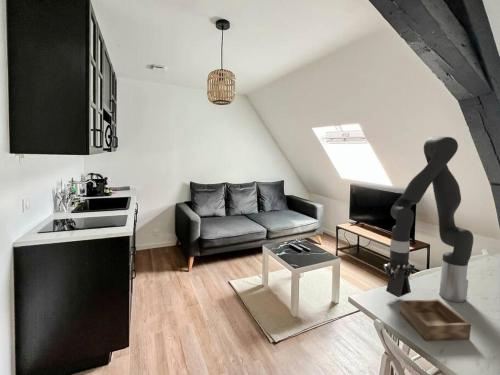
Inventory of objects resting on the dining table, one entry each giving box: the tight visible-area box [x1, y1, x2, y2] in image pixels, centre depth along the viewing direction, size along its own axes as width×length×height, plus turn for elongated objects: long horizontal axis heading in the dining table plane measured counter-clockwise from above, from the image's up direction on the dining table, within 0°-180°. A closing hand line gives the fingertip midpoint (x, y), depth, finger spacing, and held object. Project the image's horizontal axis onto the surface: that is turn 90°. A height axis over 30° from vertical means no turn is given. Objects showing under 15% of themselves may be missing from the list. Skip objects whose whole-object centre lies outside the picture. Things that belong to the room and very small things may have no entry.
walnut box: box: [399, 298, 472, 342], centre depth 103 cm, size 16×16×6 cm
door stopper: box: [385, 266, 412, 298], centre depth 120 cm, size 9×6×12 cm, turn 116°
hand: (397, 284), depth 121 cm, fingers closed on door stopper, 2 cm apart
